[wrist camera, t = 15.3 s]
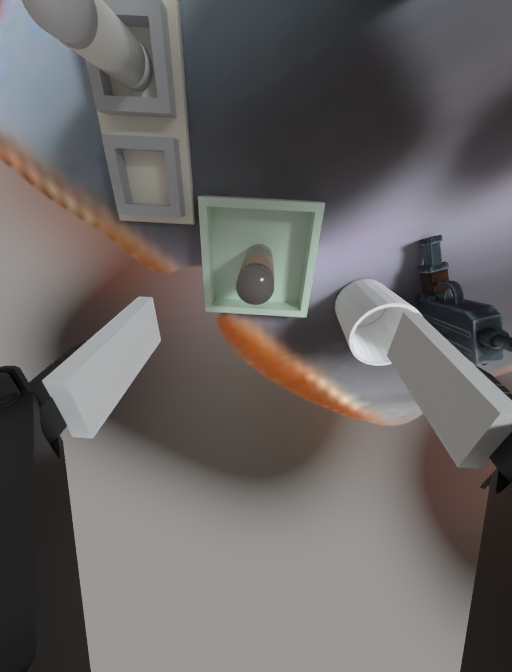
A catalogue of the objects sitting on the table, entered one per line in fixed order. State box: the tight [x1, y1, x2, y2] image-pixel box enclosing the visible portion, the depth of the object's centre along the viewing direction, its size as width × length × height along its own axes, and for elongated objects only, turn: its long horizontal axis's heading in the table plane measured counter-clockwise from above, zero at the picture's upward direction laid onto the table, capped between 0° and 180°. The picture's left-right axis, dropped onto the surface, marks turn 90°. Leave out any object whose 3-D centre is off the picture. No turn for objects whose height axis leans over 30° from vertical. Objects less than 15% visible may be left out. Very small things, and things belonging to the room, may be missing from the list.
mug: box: [335, 279, 423, 366], centre depth 36 cm, size 11×9×10 cm
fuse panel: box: [85, 0, 195, 225], centre depth 29 cm, size 20×10×3 cm, turn 177°
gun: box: [415, 235, 512, 365], centre depth 31 cm, size 3×17×15 cm
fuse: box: [22, 0, 153, 91], centre depth 21 cm, size 4×4×12 cm
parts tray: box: [198, 195, 325, 318], centre depth 35 cm, size 15×15×4 cm
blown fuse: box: [236, 244, 274, 305], centre depth 31 cm, size 4×4×12 cm
